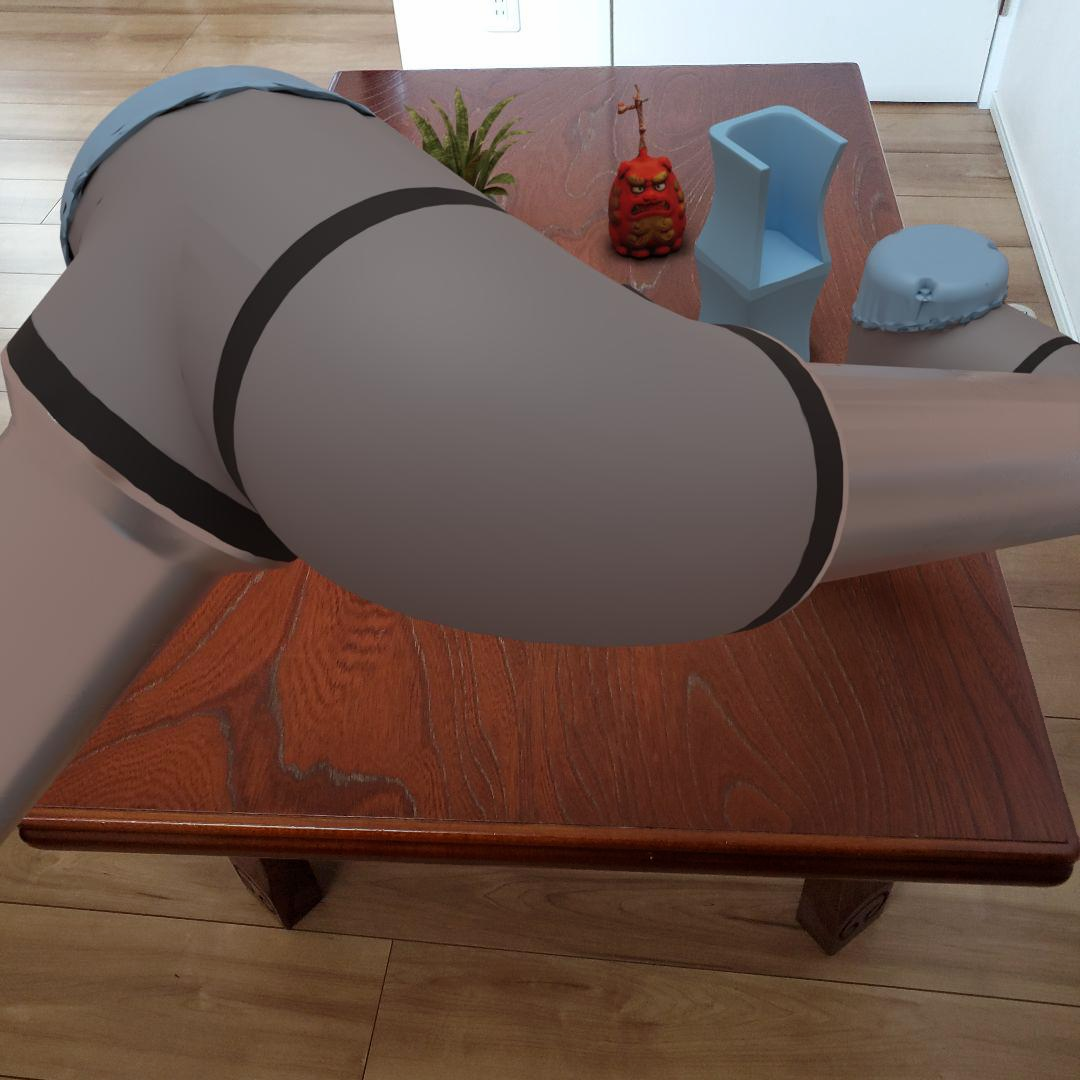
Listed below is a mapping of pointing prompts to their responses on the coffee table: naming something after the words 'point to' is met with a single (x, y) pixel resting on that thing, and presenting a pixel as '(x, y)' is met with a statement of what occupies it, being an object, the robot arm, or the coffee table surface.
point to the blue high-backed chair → (767, 223)
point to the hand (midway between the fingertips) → (469, 344)
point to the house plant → (469, 158)
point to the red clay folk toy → (645, 201)
